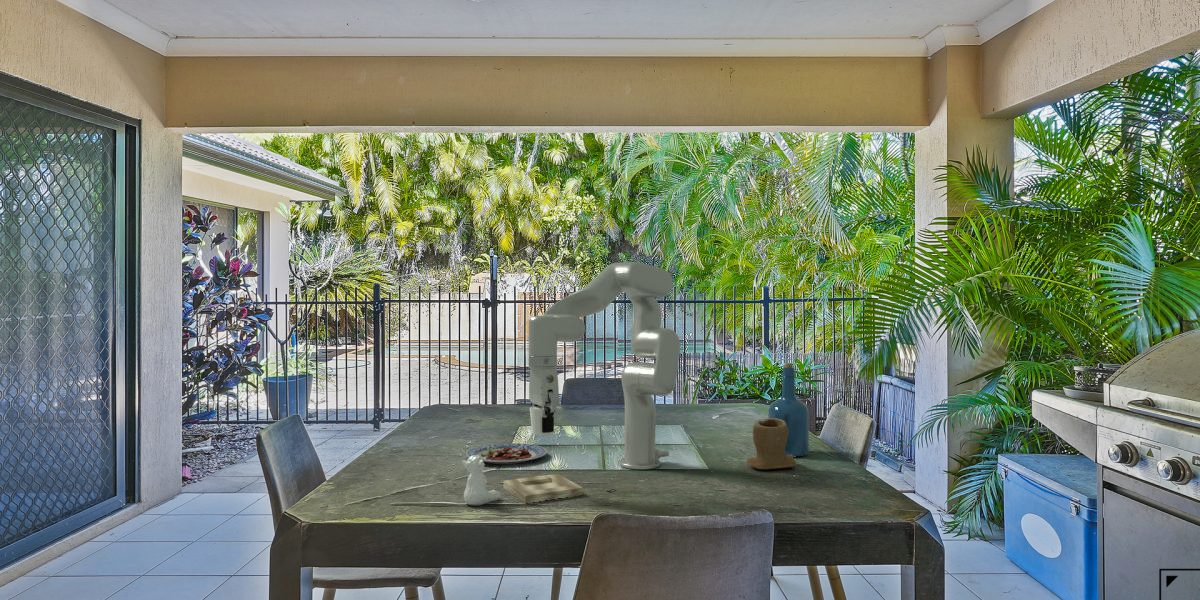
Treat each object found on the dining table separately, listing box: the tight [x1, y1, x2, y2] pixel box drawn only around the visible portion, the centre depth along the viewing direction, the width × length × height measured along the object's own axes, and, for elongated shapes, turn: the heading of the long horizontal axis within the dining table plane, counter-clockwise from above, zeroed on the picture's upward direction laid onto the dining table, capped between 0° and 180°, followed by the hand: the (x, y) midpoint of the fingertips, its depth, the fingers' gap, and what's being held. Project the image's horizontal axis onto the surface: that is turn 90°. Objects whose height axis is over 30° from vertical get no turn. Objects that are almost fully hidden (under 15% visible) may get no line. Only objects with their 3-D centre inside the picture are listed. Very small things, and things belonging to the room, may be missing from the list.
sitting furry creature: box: [461, 455, 502, 506], centre depth 171 cm, size 10×9×12 cm
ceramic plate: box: [465, 442, 548, 465], centre depth 219 cm, size 26×26×3 cm
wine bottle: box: [767, 362, 810, 458], centre depth 226 cm, size 14×13×30 cm
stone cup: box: [746, 417, 798, 470], centre depth 206 cm, size 15×12×15 cm
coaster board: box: [502, 473, 584, 505], centre depth 180 cm, size 16×16×2 cm
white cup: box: [529, 406, 556, 437], centre depth 180 cm, size 7×7×7 cm
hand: (542, 429), depth 180 cm, fingers closed on white cup, 6 cm apart
